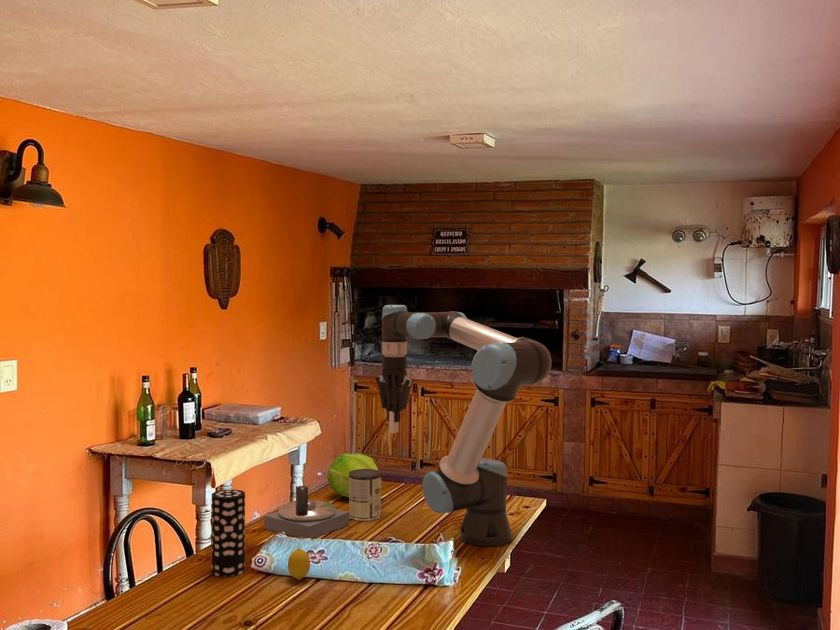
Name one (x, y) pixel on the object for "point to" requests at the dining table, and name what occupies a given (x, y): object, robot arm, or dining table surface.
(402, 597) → the dining table surface
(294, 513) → the peg on round base
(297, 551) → the lemon
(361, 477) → the coffee can
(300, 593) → the dining table surface
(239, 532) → the spotted tube
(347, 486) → the lettuce
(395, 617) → the dining table surface
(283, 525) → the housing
